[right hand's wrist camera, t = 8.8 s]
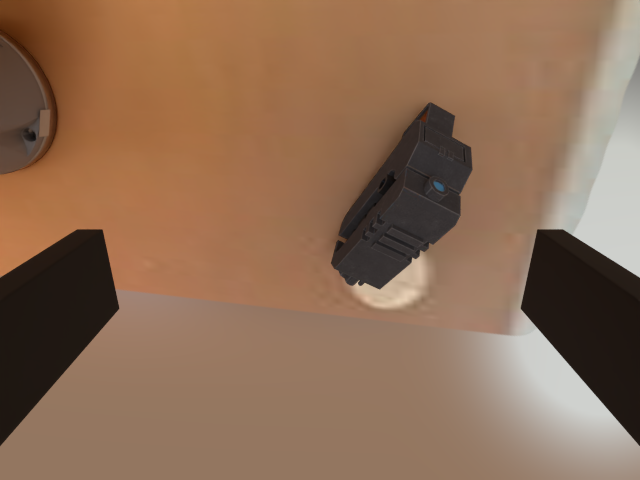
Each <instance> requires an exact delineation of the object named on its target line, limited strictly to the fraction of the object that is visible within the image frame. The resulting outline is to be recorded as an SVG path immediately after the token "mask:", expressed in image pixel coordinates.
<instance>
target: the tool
mask: <svg viewBox="0 0 640 480" xmlns="http://www.w3.org/2000/svg"><path fill="white" fill-rule="evenodd" d="M454 119H455V116H454V115H452V114H451V113H449V112H447V111H445V110H443V109H442V108H440V107H438V106H436V105H434V104H433V103H428V104H427V106H426V107H425V108H424V109H423V110H422V112H421V113H420V114H419V115H418V116H417V118H416V119H415V120H414V121H413V122H412V124H411V125H410V126H409V127H408V129H407V130H406V131H405V132H404V134H403V137H402V140H401V141H400V143H399V144H398V145H397V147H396V148H395V149H394V151H393V152H392V153H391V155H390V156H389V157H388V159H387V160H386V161H385V163H384V164H383V166H382V167H381V168H380V170H379V171H378V172H377V174H376V175H375V176H374V178H373V179H372V180H371V182H370V183H369V184H368V186H367V187H366V189H365V190H364V191H363V193H362V194H361V195H360V197H359V198H358V199H357V201H356V202H355V203H354V205H353V206H352V208H351V209H350V210H349V212H348V213H347V214H346V216H345V218H344V220H343V222H342V225H341V228H340V232H339V236H341V237H343V238H346V239H348V240H347V241H346V242H345V243H343V242H341V241H339V240H338V241H337V243H336V247H335V250H334V254H333V258H332V262H331V264H332V266H333V267H334V269H336V270H338V271H339V273H340V275H341V276H342V277H343V278H345V281H346V283H347V284H349V285H351V286H353V285H355V284H356V283H357V282H358V281H359V280H360V281H359V282H358V284H359V285H360V286H362V285H363V284H364V283H367V284H369V285H371V286H373V287H376V288H378V289H381V288H382V287H383V286H384V285H386V284H387V283H388V282H389V281H390V280H392V279H393V278H394V277H395V276H396V275H398V274H399V273H400V272H401V271H402V270H403V269H405V268H406V267H407V266H408V265H409V264H411V262H412V257H413V258H415V259H417V258H418V257H419V256H420V250H421V251H423V252H425V251H426V250H427V249H428V248H429V243H431V244H434V243H436V242H437V241H438V240H439V239H440V238H441V237H442V236H444V235H445V234H446V233H447V232H448V231H449V230H450V229H452V228H453V227H454V226H455V225H456V223H457V221H458V219H459V217H460V196H459V194H460V193H461V191H462V189H463V187H464V185H465V183H466V181H467V179H468V177H469V175H470V173H471V172H472V157H471V147H469V146H467V145H465V144H463V143H462V142H460V141H458V140H456V139H454V138H452V132H453V125H454Z"/></svg>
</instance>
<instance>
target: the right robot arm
mask: <svg viewBox="0 0 640 480" xmlns="http://www.w3.org/2000/svg"><path fill="white" fill-rule="evenodd" d="M56 119H57V116H56V106H55V101H54V97H53V93H52V90H51V87H50V85H49V83H48V81H47V79H46V77H45V75H44V73H43V71H42V70H41V68H40V67H39V65H38V64H37V62H36V61H35V60H34V58H33V57H32V56H31V55H30V54H29V53H28V52H27V51H26V50H25V49H24V48H23V47H22V46H21V45H20V44H19V43H18V42H16V41H15V40H14V39H13V38H11V37H10V36H8V35H7V34H5V33H4V32H2V31H0V174H6V173H10V172H13V171H17V170H20V169H23V168H26V167H28V166H30V165H32V164H33V163H35V162H36V161H38V160H39V159H40V158H41V157H42V156H43V155H44V154H45V153H46V151H47V150H48V148H49V146H50V145H51V143H52V140H53V138H54V134H55V130H56ZM118 309H119V305H118V300H117V296H116V291H115V286H114V281H113V277H112V272H111V267H110V262H109V258H108V253H107V248H106V244H105V239H104V234H103V230H76V231H74V232H72V233H71V234H69V235H68V236H66V237H64V238H63V239H61V240H60V241H58V242H56V243H55V244H53V245H52V246H50V247H48V248H47V249H45V250H44V251H42V252H41V253H39V254H37V255H36V256H34V257H33V258H31V259H29V260H28V261H26V262H25V263H23V264H21V265H20V266H18V267H17V268H15V269H13V270H12V271H10V272H9V273H7V274H5V275H4V276H2V277H1V278H0V446H1V444H2V443H3V442H4V441H5V440H6V439H7V438H8V436H9V435H10V434H11V433H12V432H13V431H14V429H15V428H16V427H17V426H18V425H19V424H20V423H21V421H22V420H23V419H24V418H25V417H26V416H27V415H28V413H29V412H30V411H31V410H32V409H33V408H34V406H35V405H36V404H37V403H38V402H39V401H40V400H41V398H42V397H43V396H44V395H45V394H46V393H47V391H48V390H49V389H50V388H51V387H52V386H53V384H54V383H55V382H56V381H57V380H58V379H59V378H60V376H61V375H62V374H63V373H64V372H65V371H66V370H67V368H68V367H69V366H70V365H71V364H72V363H73V361H74V360H75V359H76V358H77V357H78V356H79V355H80V353H81V352H82V351H83V350H84V349H85V347H86V346H87V345H88V344H89V343H90V342H91V341H92V339H93V338H94V337H95V336H96V335H97V334H98V333H99V331H100V330H101V329H102V328H103V327H104V326H105V325H106V323H107V322H108V321H109V320H110V319H111V318H112V316H113V315H114V314H115V313H116V312H117V311H118ZM521 310H522V311H523V312H524V313H525V314H526V315H527V316H528V318H529V319H530V320H531V321H532V322H533V323H534V325H535V326H536V327H537V328H538V329H539V330H540V331H541V333H542V334H543V335H544V336H545V337H546V338H547V340H548V341H549V342H550V343H551V344H552V345H553V346H554V348H555V349H556V350H557V351H558V352H559V353H560V355H561V356H562V357H563V358H564V359H565V360H566V361H567V363H568V364H569V365H570V366H571V367H572V368H573V370H574V371H575V372H576V373H577V374H578V375H579V376H580V378H581V379H582V380H583V381H584V382H585V383H586V384H587V386H588V387H589V388H590V389H591V390H592V391H593V393H594V394H595V395H596V396H597V397H598V398H599V399H600V401H601V402H602V403H603V404H604V405H605V406H606V408H607V409H608V410H609V411H610V412H611V413H612V414H613V416H614V417H615V418H616V419H617V420H618V421H619V423H620V424H621V425H622V426H623V427H624V428H625V429H626V431H627V432H628V433H629V434H630V435H631V436H632V438H633V439H634V440H635V441H636V442H637V443H638V444H639V446H640V278H639V277H638V276H636V275H634V274H633V273H631V272H630V271H628V270H627V269H625V268H623V267H622V266H620V265H619V264H617V263H615V262H614V261H612V260H611V259H609V258H607V257H606V256H604V255H603V254H601V253H599V252H598V251H596V250H595V249H593V248H592V247H590V246H588V245H587V244H585V243H583V242H582V241H580V240H579V239H577V238H576V237H574V236H572V235H571V234H569V233H568V232H566V231H564V230H537V234H536V239H535V244H534V248H533V253H532V258H531V262H530V267H529V272H528V277H527V281H526V286H525V291H524V295H523V300H522V305H521Z"/></svg>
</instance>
